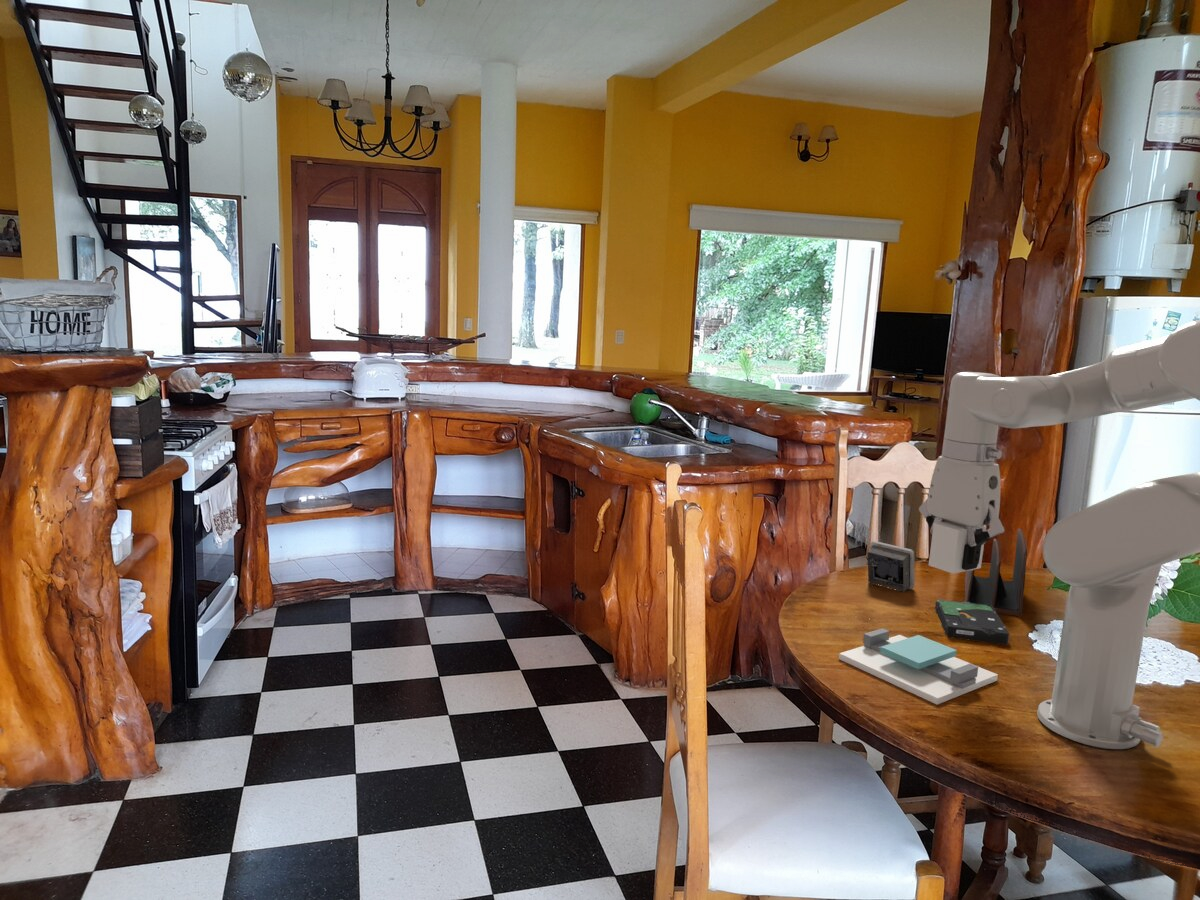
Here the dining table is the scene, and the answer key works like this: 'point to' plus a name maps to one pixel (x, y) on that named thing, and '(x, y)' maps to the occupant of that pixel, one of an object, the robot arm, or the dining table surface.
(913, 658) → the plate
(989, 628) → the disk drive
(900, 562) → the electrical switch
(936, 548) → the block
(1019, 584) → the letter holder
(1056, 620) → the dining table surface
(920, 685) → the rail panel
